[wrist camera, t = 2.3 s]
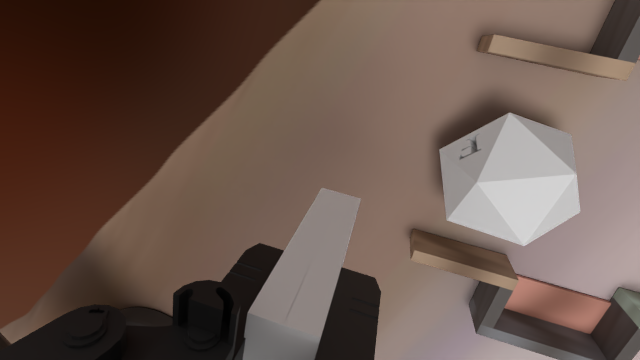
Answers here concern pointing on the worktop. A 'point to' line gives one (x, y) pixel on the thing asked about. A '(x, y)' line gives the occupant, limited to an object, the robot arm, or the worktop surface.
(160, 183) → the worktop surface
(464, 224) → the die
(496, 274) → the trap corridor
